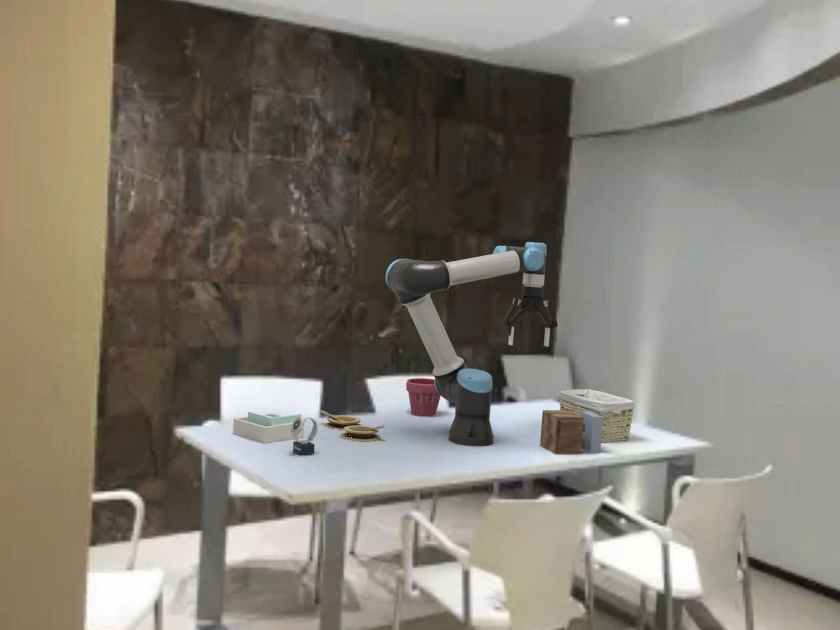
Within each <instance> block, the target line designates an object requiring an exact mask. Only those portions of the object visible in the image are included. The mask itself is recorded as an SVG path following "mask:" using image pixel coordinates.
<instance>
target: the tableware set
mask: <svg viewBox="0 0 840 630" xmlns="http://www.w3.org/2000/svg"><path fill="white" fill-rule="evenodd" d="M319 413H320V414H322V415H325V416H327V419H326V420H327V421H328V422H326V423H325V424H324V427H325V426H326V427H328V428H327V429H329V428H331V429H330V430H333V429H338V430H337V431H341V430H345V431H344V432H342V433H341V434H339V437H340V438H341V437H342V438H344V439H343V440H345V439H347V440H346V441H349V440H351V441H350V442H356V441H359V442H358V443H372V442H371V441H373V442H378V441H380V440H381V439H382V436H381V435H379V434H377V433H378V432H379V429H383V428H385V425H384V424H382V425H379V426H376V427H373V426H370V425H369V426H368V425H362V424H360V423H361V420H362V419H361V418H359V417H356V416H353V415H352V416H351V415H341V414H340V415H332V414H330V413H329V412H327V411H325V410H321V409H320V411H319ZM326 427H325V428H326ZM349 435H350V437H349ZM351 437H352V438H351ZM342 438H341V439H342ZM377 440H378V441H377Z"/></svg>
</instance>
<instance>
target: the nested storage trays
mask: <svg viewBox="0 0 840 630" xmlns="http://www.w3.org/2000/svg"><path fill="white" fill-rule="evenodd" d="M263 415H266V416H269V417H280V416H282V415H280V414H276V413H273V412H272V413H265V414H263ZM292 424H293V423H289V424H282V425H275V426H268V427H264V426H261V425H258V424H254V423H251V422H248V416H242V417H235V418H233V424H232V434H233V435H236V436H238V437H243V438H246V439H249V440H252V441H256V442H258V443H262V444H270V443H276V442H283V441H287V440H288V441H289V440H294V439H293V437H292V434H291V426H292ZM304 432H305V426H304V427H303V429H302V430H301V431H300V433H298V436H296V437H297V439H301V437H302V438H304V435H305V433H304Z"/></svg>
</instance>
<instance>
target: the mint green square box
mask: <svg viewBox="0 0 840 630" xmlns="http://www.w3.org/2000/svg"><path fill="white" fill-rule="evenodd" d="M247 417H248V422H251V423H254V424H258V425H261V426H264V427H268V426H275V425H282V424H289V423H293V422H294V421H295V420H296V419H297V418H300V417H302V414H301V413H295V414H287V415H281V416H280V417H269V416H266V415H264V414H262V413H258V412H254V411H251V410H250V411H247Z"/></svg>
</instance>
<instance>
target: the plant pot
mask: <svg viewBox="0 0 840 630" xmlns="http://www.w3.org/2000/svg"><path fill="white" fill-rule="evenodd" d="M434 380H435V378H425V377H424V378H422V377H417V378H416V377H413V378H408V379H407V380H406V385H405V390H406V392H408V393H407V394H408V398H409V399H408V400H409V406H410V412H411V415H412V416H416V415H417V416H416V417H423V416H429V417H434V416H436V414H437V410H438V407H439V404H440V400H441V397H442V396H441V395H440V394H439V393H438V392H437V390H436V388H435V384H434ZM433 415H434V416H433Z"/></svg>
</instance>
